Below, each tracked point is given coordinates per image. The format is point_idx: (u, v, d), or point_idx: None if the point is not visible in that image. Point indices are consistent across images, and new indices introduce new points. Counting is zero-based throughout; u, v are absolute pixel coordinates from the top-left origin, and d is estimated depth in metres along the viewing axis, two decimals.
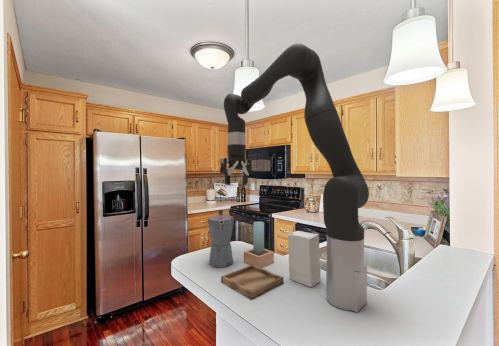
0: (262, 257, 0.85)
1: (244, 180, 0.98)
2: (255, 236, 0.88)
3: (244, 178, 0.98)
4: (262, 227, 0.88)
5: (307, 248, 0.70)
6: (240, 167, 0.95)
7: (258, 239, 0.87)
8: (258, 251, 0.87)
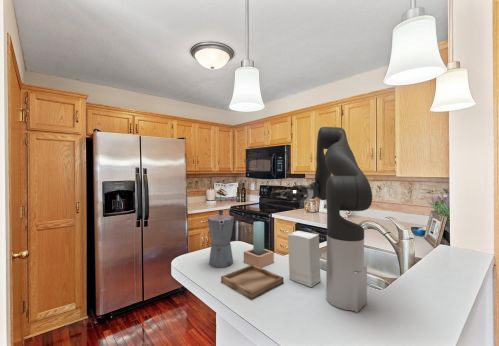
0: (262, 257, 0.85)
1: None
2: (255, 236, 0.88)
3: None
4: (262, 227, 0.88)
5: (307, 248, 0.70)
6: (291, 192, 1.01)
7: (258, 239, 0.87)
8: (258, 251, 0.87)
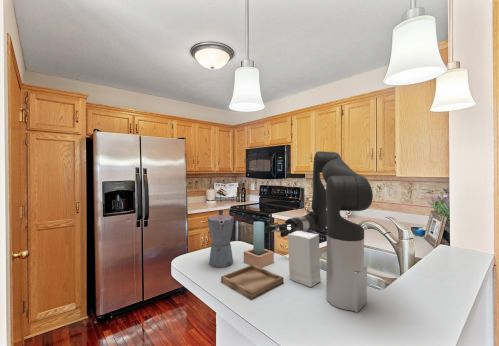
0: (262, 257, 0.85)
1: None
2: (255, 236, 0.88)
3: None
4: (262, 227, 0.88)
5: (307, 248, 0.70)
6: (285, 227, 0.98)
7: (258, 239, 0.87)
8: (258, 251, 0.87)
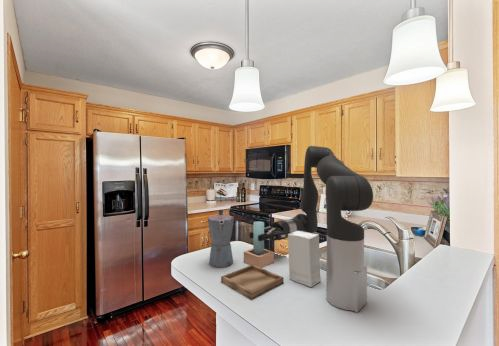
0: (262, 257, 0.85)
1: None
2: (255, 236, 0.88)
3: None
4: (262, 227, 0.88)
5: (307, 248, 0.70)
6: (269, 230, 0.93)
7: None
8: (258, 251, 0.87)
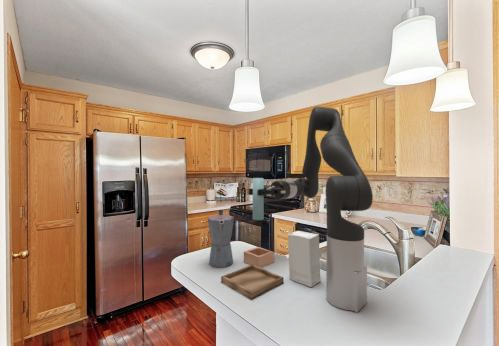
0: (262, 257, 0.85)
1: None
2: (254, 191, 0.85)
3: None
4: (261, 182, 0.85)
5: (307, 248, 0.70)
6: None
7: None
8: (257, 206, 0.85)
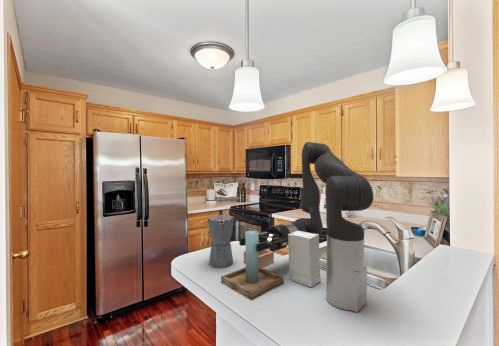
0: (262, 257, 0.85)
1: None
2: (247, 249, 0.71)
3: None
4: (256, 238, 0.71)
5: (307, 248, 0.70)
6: (266, 237, 0.76)
7: (251, 253, 0.71)
8: (251, 267, 0.71)
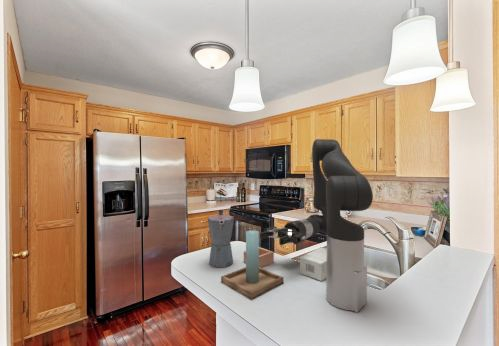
0: (262, 257, 0.85)
1: None
2: (248, 249, 0.72)
3: None
4: (256, 238, 0.72)
5: None
6: (285, 232, 0.83)
7: (251, 252, 0.71)
8: (251, 267, 0.71)
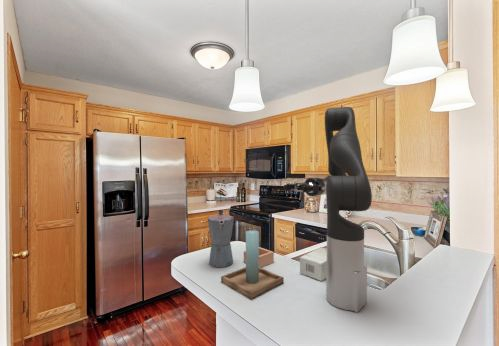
0: (262, 257, 0.85)
1: None
2: (248, 249, 0.72)
3: None
4: (256, 238, 0.72)
5: None
6: (306, 184, 0.91)
7: (251, 252, 0.71)
8: (251, 267, 0.71)
